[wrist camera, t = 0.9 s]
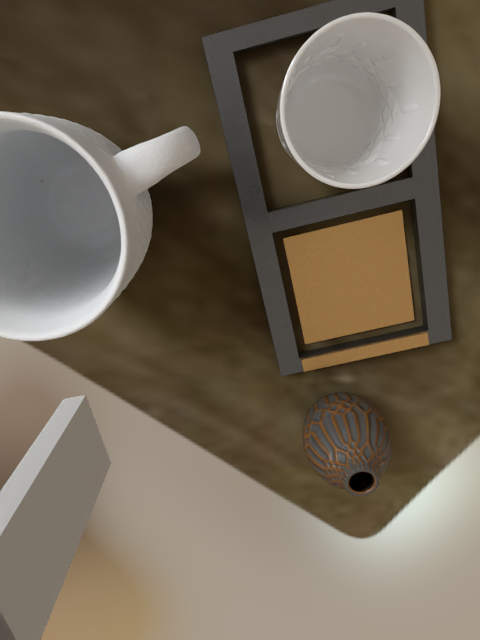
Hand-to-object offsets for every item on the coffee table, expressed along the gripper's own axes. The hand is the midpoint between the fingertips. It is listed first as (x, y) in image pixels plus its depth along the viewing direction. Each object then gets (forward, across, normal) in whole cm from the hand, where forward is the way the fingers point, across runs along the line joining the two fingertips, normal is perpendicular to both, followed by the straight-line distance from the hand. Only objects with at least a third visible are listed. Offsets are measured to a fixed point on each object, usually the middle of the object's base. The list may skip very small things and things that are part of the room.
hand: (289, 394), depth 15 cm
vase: (+22, +4, -16) cm, 27 cm away
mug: (+22, -10, +6) cm, 25 cm away
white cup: (+22, +6, +8) cm, 24 cm away
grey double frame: (+22, +6, +2) cm, 23 cm away
